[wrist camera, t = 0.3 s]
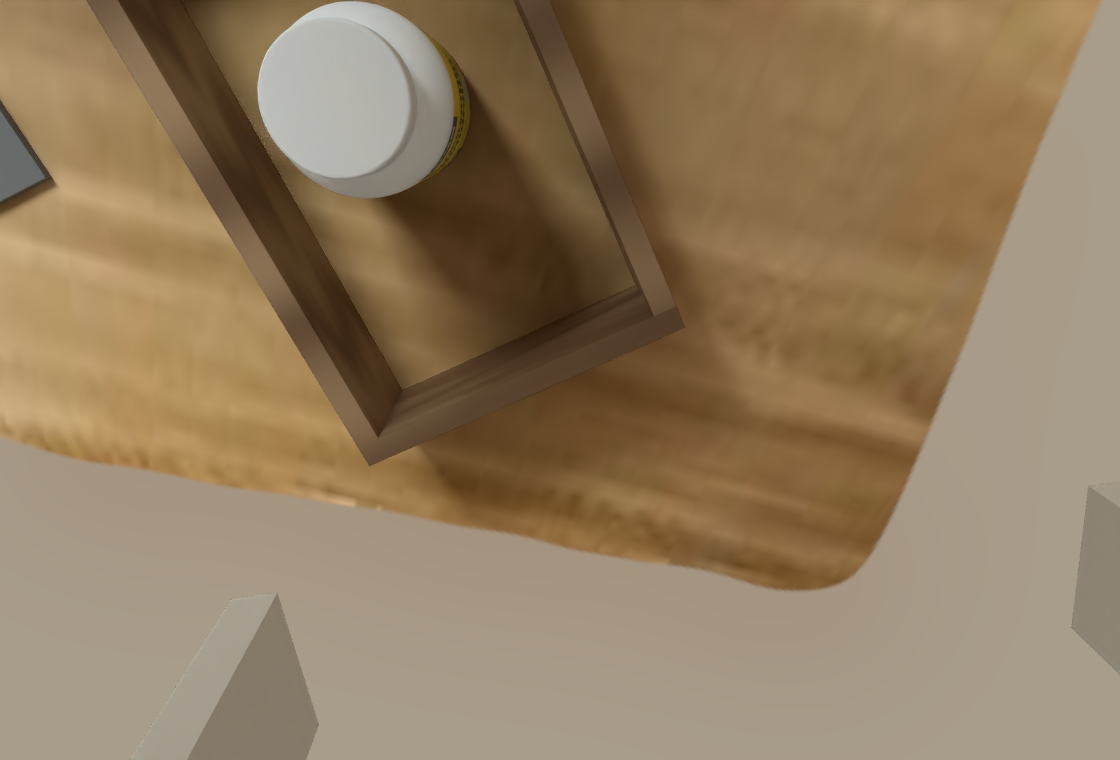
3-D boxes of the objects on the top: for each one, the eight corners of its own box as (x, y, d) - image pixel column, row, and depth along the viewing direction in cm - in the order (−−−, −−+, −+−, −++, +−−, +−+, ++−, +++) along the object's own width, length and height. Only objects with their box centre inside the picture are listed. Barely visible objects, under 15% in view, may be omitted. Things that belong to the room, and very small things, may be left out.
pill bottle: (434, 207, 35) (385, 248, 24) (305, 136, 34) (193, 145, 23) (498, 77, 33) (478, 58, 22) (365, -3, 32) (274, -64, 21)
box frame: (84, -121, 30) (-20, -175, 25) (410, -308, 29) (378, -413, 23) (394, 414, 38) (369, 466, 33) (662, 294, 37) (685, 327, 31)
